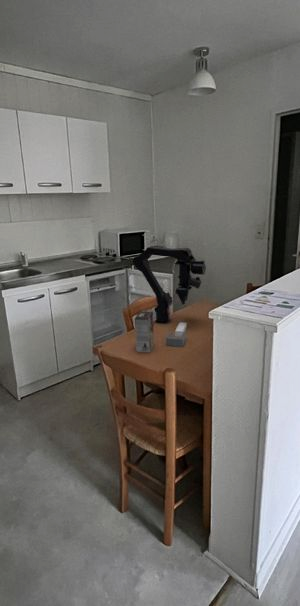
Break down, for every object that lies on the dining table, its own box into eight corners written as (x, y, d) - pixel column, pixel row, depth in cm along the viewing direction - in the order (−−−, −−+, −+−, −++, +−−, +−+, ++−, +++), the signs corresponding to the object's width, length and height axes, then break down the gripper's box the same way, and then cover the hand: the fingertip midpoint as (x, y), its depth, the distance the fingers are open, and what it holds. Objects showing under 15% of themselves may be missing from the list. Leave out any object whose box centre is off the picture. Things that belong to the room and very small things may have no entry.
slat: (175, 336, 174) (175, 331, 173) (179, 327, 185) (179, 322, 184) (182, 337, 173) (182, 331, 172) (186, 328, 184) (186, 322, 183)
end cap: (166, 345, 164) (166, 338, 163) (169, 338, 172) (169, 331, 171) (182, 346, 162) (182, 339, 161) (185, 339, 170) (185, 332, 169)
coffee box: (140, 343, 167) (139, 311, 162) (154, 344, 166) (153, 311, 161) (136, 351, 158) (134, 317, 153) (150, 352, 157) (149, 318, 152)
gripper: (198, 278, 170) (197, 309, 175) (202, 269, 187) (202, 298, 192) (175, 277, 173) (175, 307, 178) (181, 269, 190) (181, 297, 195)
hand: (184, 302), depth 186 cm, fingers open, 7 cm apart
